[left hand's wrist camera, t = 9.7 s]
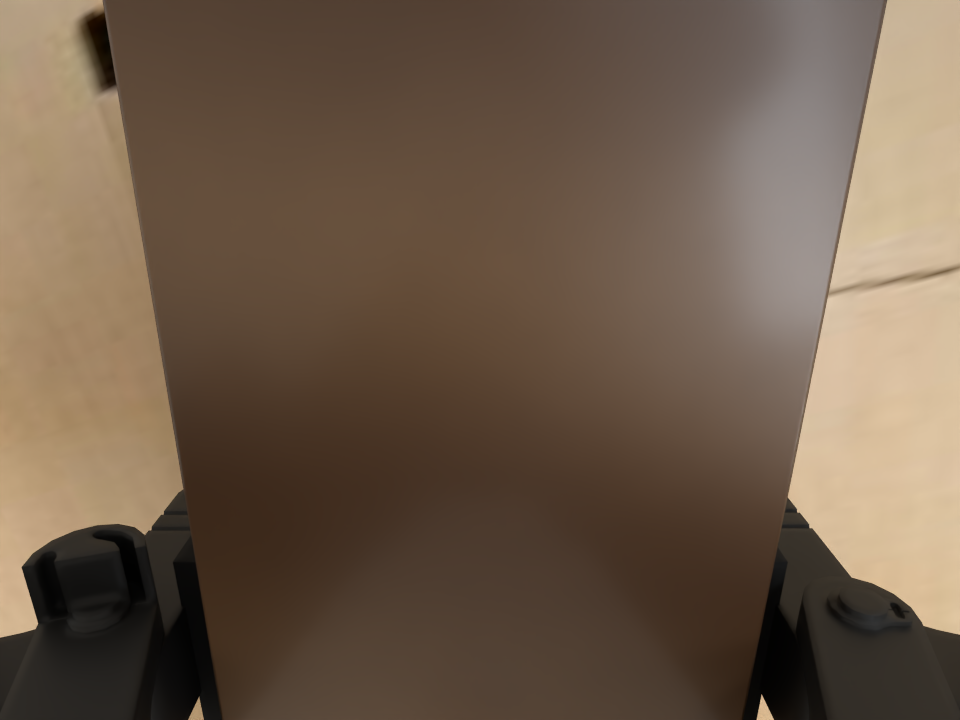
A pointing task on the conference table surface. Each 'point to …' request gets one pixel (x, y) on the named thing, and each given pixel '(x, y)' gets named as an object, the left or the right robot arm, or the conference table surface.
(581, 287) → the beam
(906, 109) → the conference table surface
